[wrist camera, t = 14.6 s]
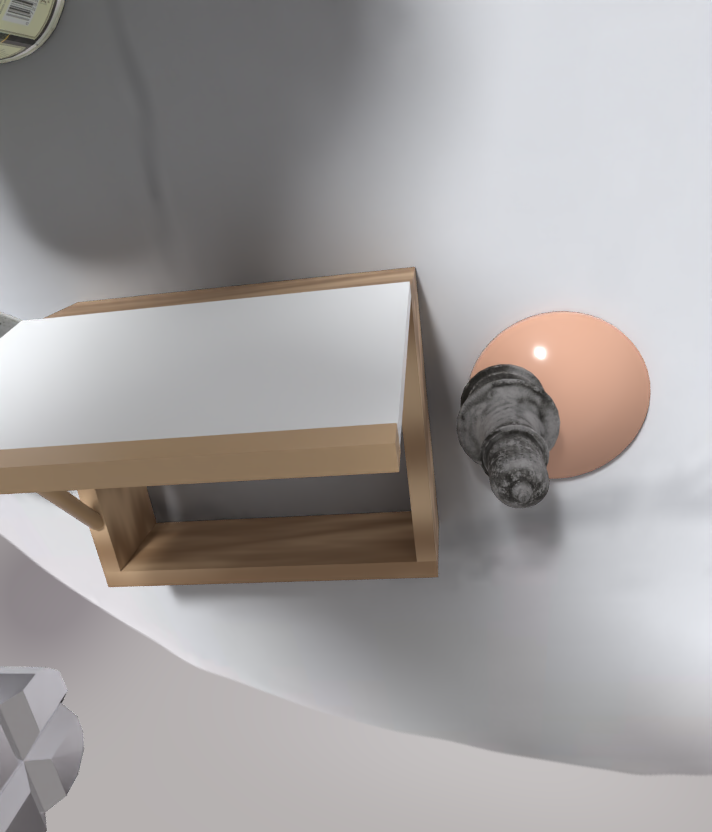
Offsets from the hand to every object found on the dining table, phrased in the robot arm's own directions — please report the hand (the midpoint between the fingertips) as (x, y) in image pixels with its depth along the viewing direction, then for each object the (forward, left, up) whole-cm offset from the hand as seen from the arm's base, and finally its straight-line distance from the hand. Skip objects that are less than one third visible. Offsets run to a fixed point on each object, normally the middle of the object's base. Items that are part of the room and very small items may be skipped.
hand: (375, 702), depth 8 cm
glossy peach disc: (+10, +7, -34) cm, 36 cm away
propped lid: (+8, -12, -29) cm, 32 cm away
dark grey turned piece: (+10, +4, -34) cm, 35 cm away
